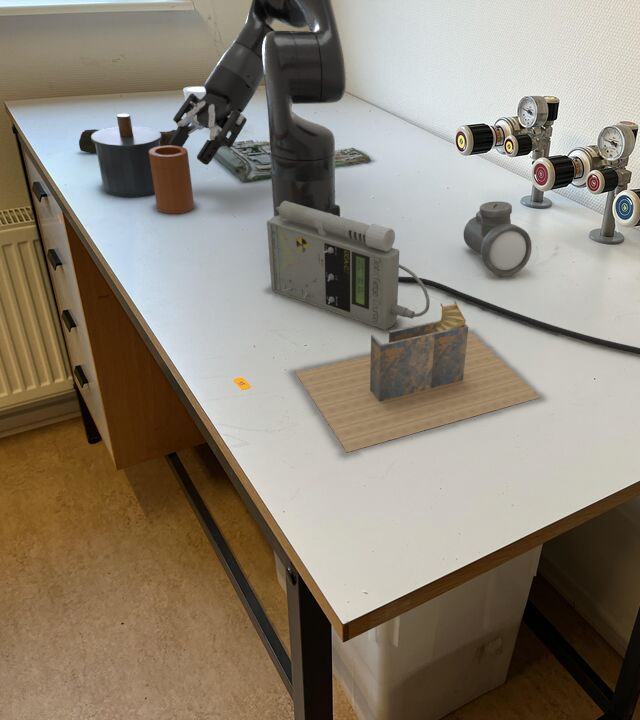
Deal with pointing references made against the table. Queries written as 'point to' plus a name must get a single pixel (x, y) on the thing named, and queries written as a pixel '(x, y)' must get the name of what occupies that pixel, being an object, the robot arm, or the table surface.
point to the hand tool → (85, 138)
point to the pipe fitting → (498, 239)
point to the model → (269, 159)
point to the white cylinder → (194, 92)
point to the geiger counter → (337, 264)
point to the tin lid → (126, 135)
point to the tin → (126, 170)
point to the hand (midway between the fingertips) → (186, 155)
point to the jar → (171, 179)
